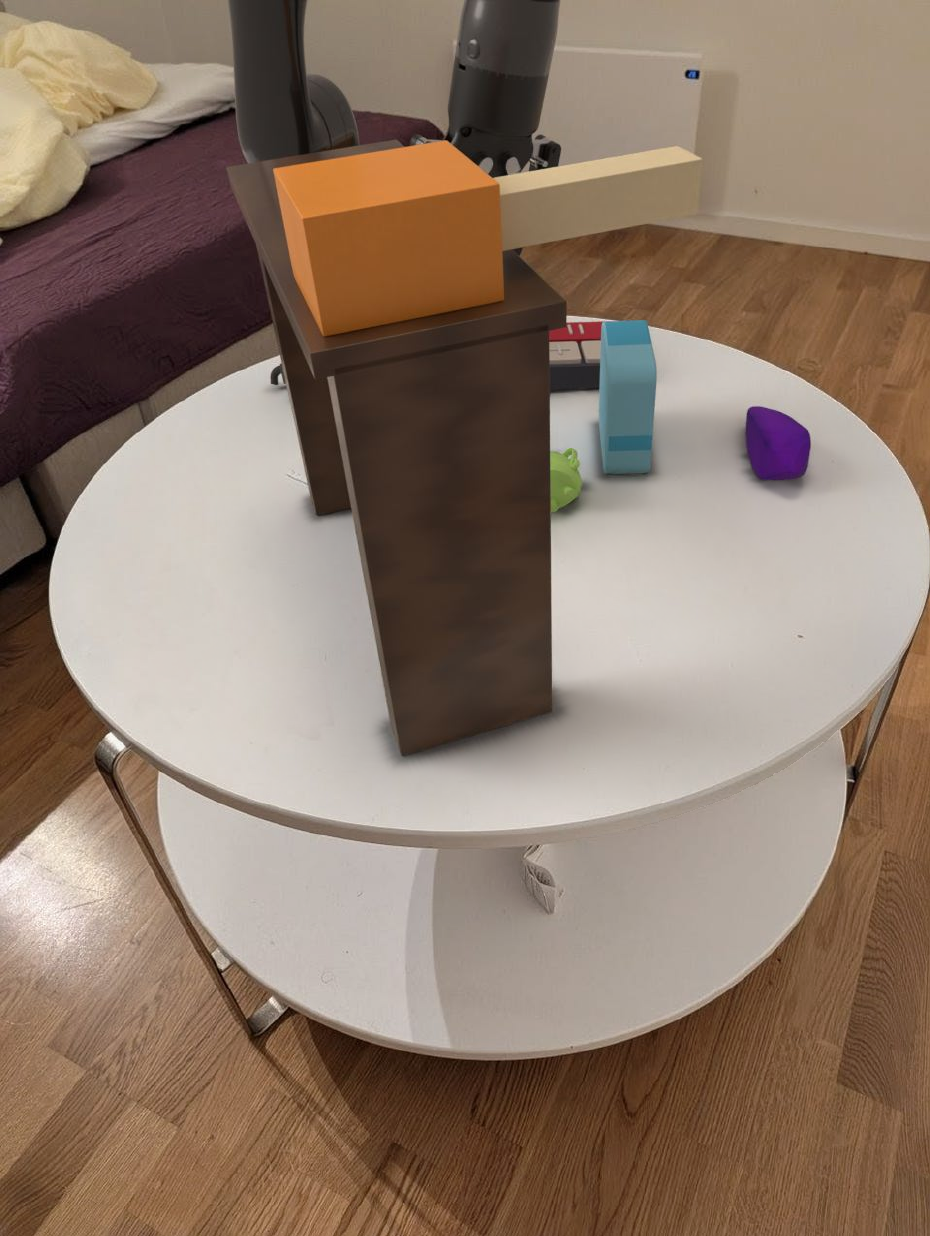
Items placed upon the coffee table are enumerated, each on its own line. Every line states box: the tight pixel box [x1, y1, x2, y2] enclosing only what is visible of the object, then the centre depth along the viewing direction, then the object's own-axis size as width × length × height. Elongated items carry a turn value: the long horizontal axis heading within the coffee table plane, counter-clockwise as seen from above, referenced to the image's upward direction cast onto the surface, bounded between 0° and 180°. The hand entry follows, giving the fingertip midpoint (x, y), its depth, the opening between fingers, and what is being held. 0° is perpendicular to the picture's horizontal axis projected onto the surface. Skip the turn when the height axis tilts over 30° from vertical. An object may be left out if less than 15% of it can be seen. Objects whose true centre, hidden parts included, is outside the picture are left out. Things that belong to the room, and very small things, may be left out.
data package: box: [598, 319, 658, 475], centre depth 93 cm, size 12×4×12 cm, turn 177°
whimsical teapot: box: [550, 447, 583, 513], centre depth 89 cm, size 6×5×6 cm
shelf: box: [226, 139, 568, 756], centre depth 71 cm, size 14×36×32 cm, turn 18°
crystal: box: [745, 405, 812, 481], centre depth 93 cm, size 5×5×15 cm
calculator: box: [549, 320, 608, 390], centre depth 110 cm, size 11×4×15 cm
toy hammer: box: [273, 140, 704, 337], centre depth 51 cm, size 23×9×6 cm, turn 108°
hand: (468, 264), depth 82 cm, fingers open, 8 cm apart
